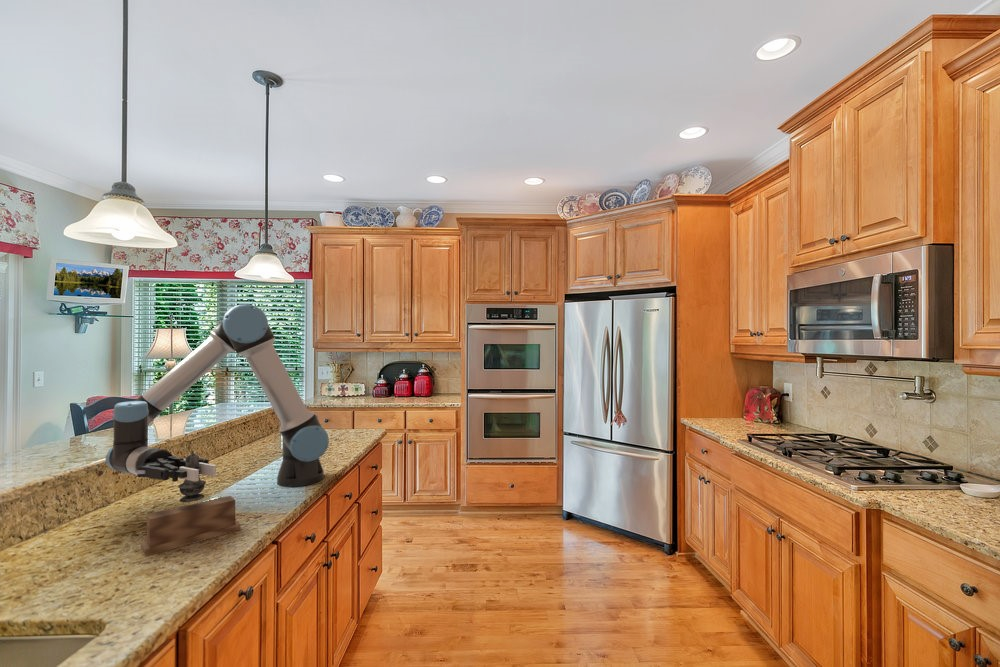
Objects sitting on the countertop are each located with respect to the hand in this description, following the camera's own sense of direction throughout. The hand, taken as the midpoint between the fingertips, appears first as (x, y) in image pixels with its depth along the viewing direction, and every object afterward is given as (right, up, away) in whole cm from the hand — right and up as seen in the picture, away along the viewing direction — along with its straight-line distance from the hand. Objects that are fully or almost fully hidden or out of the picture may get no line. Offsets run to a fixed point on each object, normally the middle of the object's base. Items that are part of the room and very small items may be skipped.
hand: (205, 473), depth 113 cm
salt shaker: (-5, -7, +2) cm, 9 cm away
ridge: (-5, -17, +2) cm, 18 cm away
